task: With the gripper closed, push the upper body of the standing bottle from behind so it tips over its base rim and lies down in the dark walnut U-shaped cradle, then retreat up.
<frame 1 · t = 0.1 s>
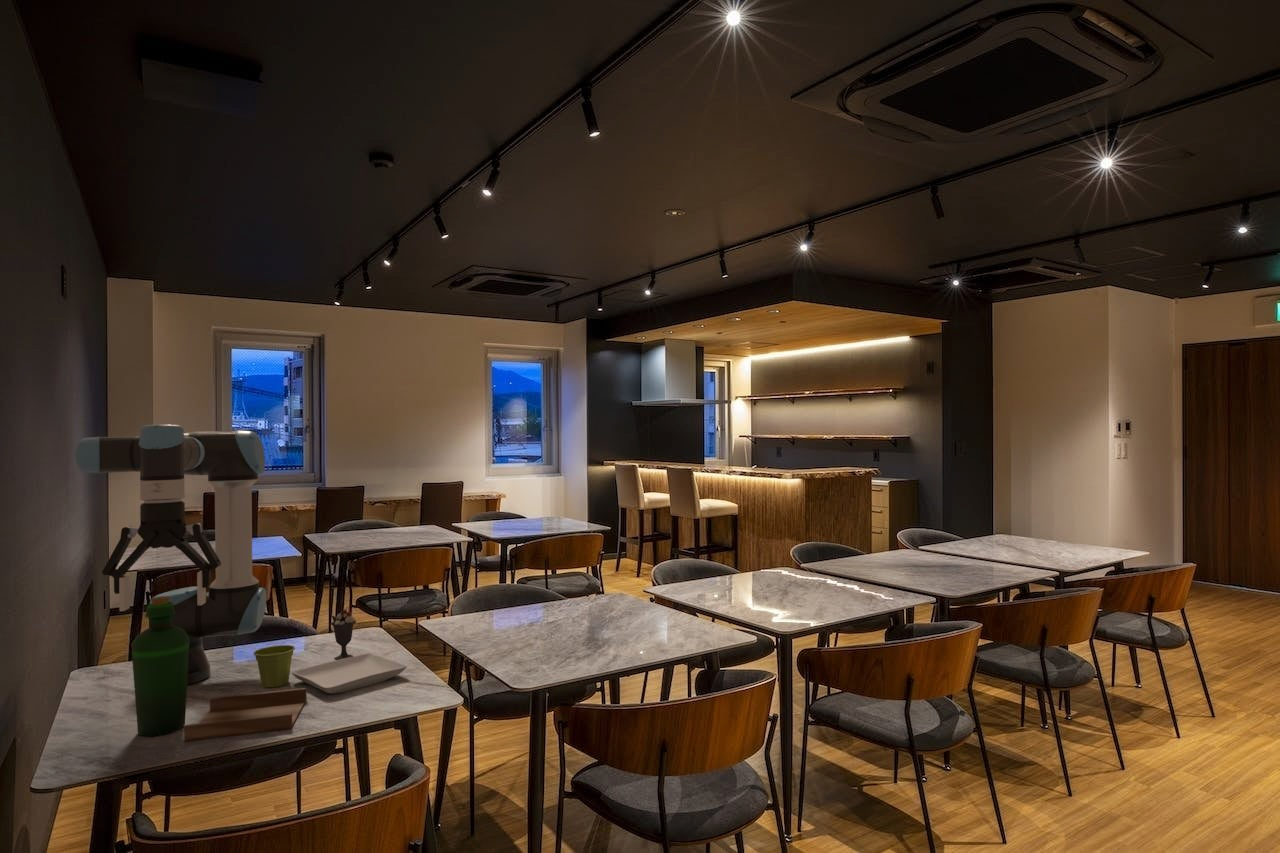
hand: (163, 607, 146), 28 cm above the table, fingers open, 13 cm apart
cradle: (249, 719, 159), on the table
plant pot: (275, 685, 183), on the table
bottle: (161, 730, 154), on the table
sundae: (344, 658, 205), on the table
salad plate: (349, 682, 185), on the table
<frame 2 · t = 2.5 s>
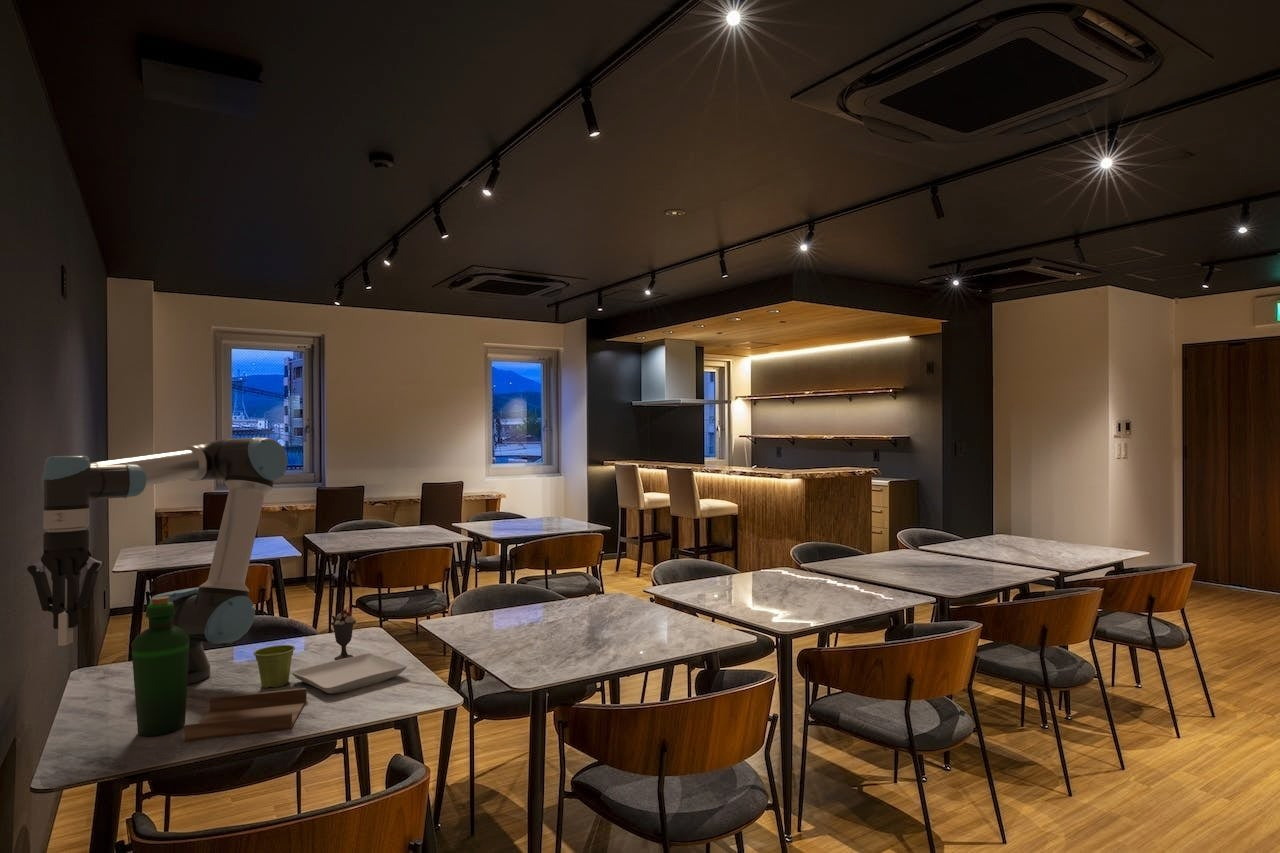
hand: (65, 643, 150), 20 cm above the table, fingers closed
nothing on the table moved.
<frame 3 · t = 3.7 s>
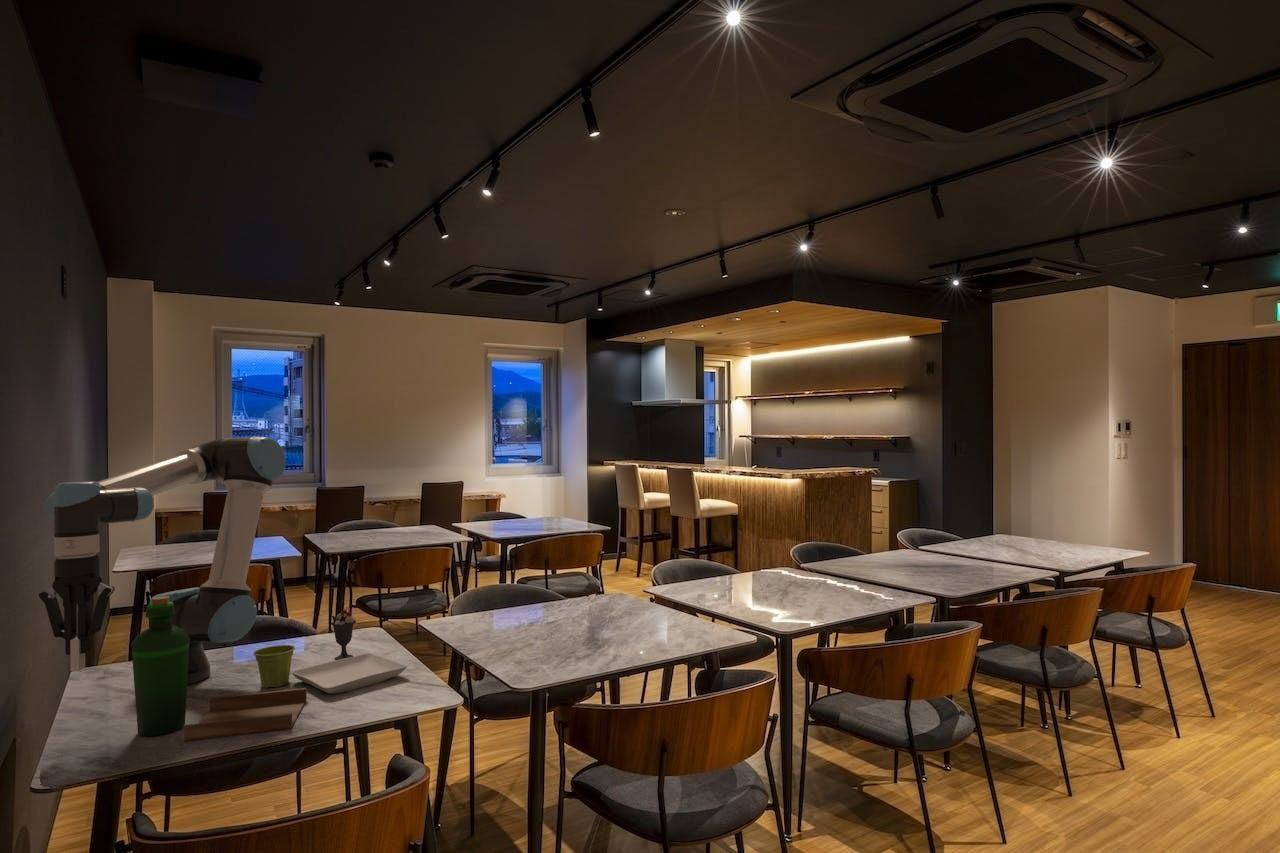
hand: (77, 669, 151), 14 cm above the table, fingers closed
nothing on the table moved.
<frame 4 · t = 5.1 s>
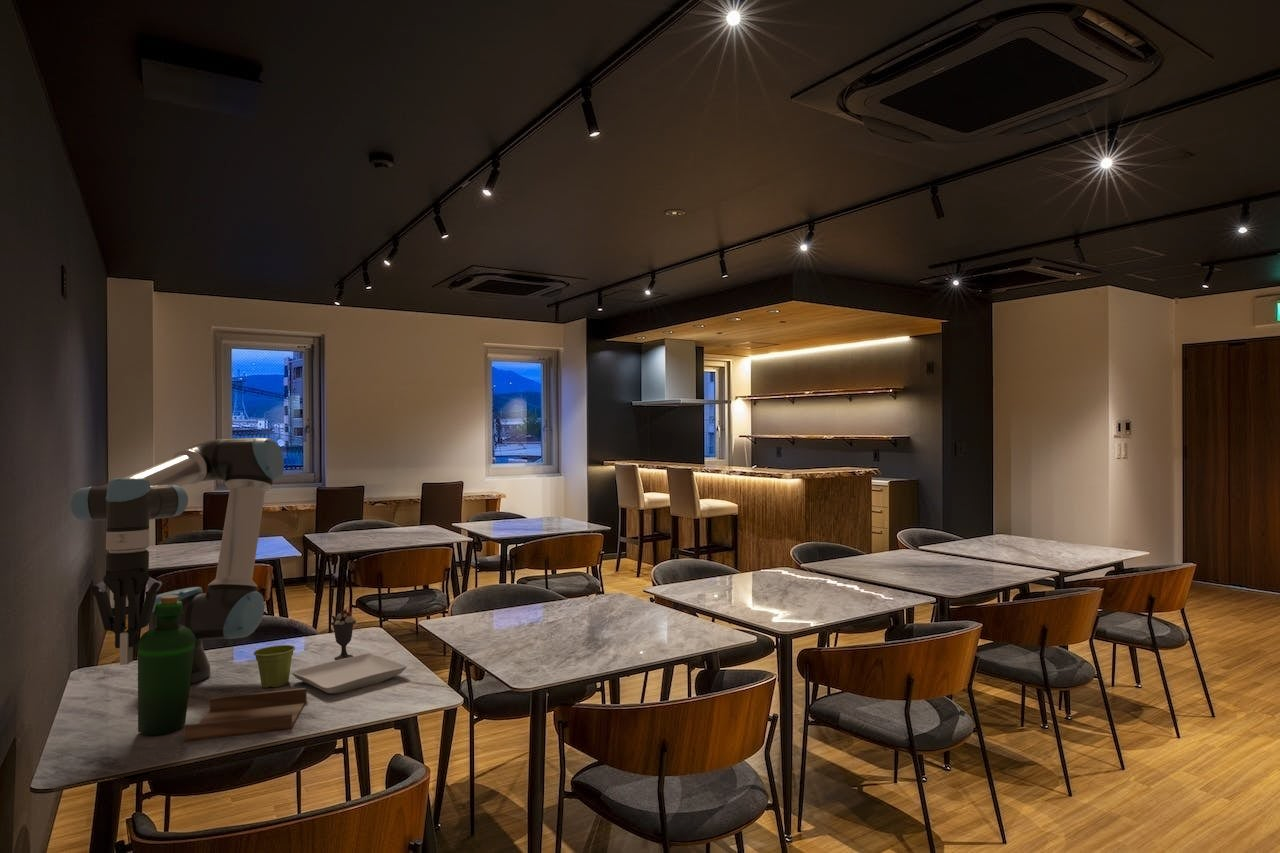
hand: (126, 662, 153), 15 cm above the table, fingers closed
bottle: (161, 729, 154), on the table, touching gripper
everything else where it was.
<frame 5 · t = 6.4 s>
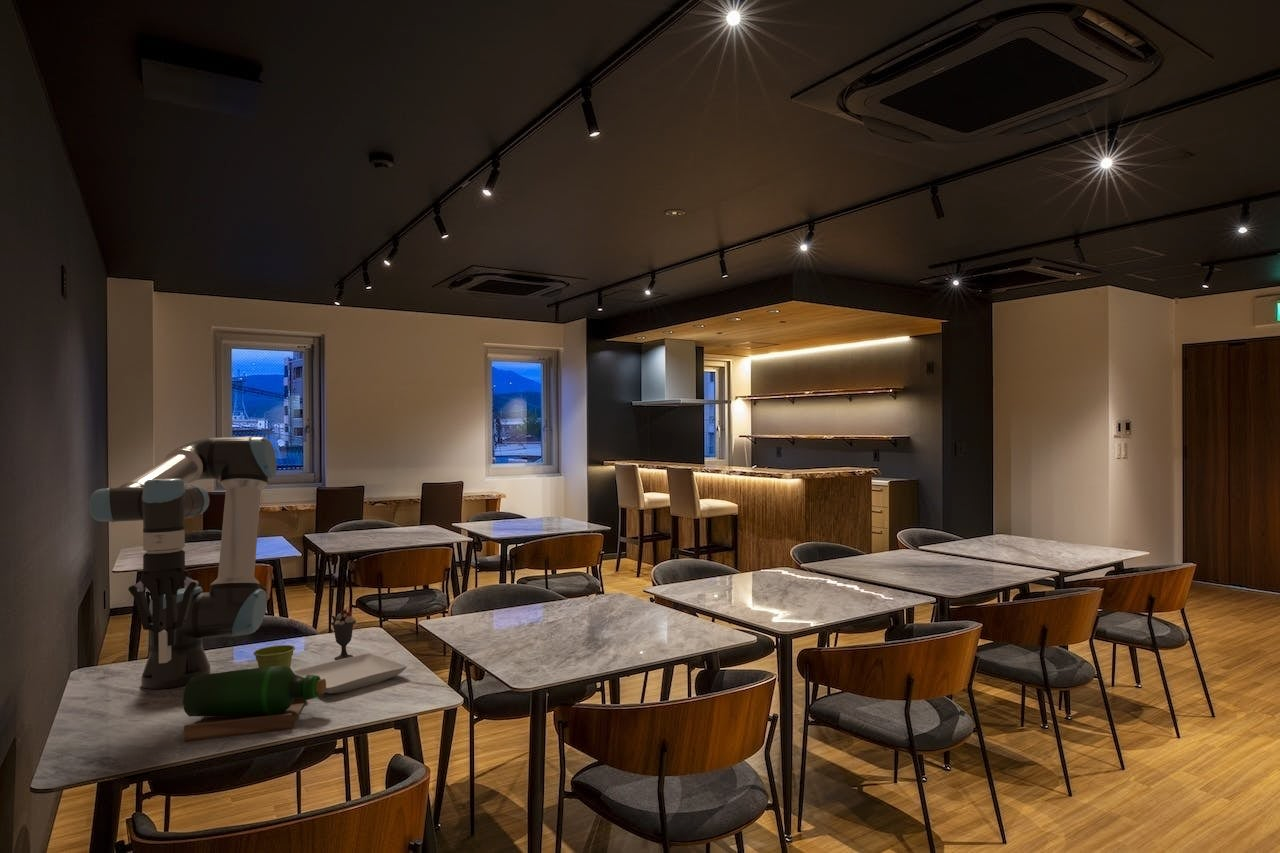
hand: (165, 661, 155), 14 cm above the table, fingers closed
bottle: (190, 695, 159), point 6 cm above the table, touching cradle
everything else where it was.
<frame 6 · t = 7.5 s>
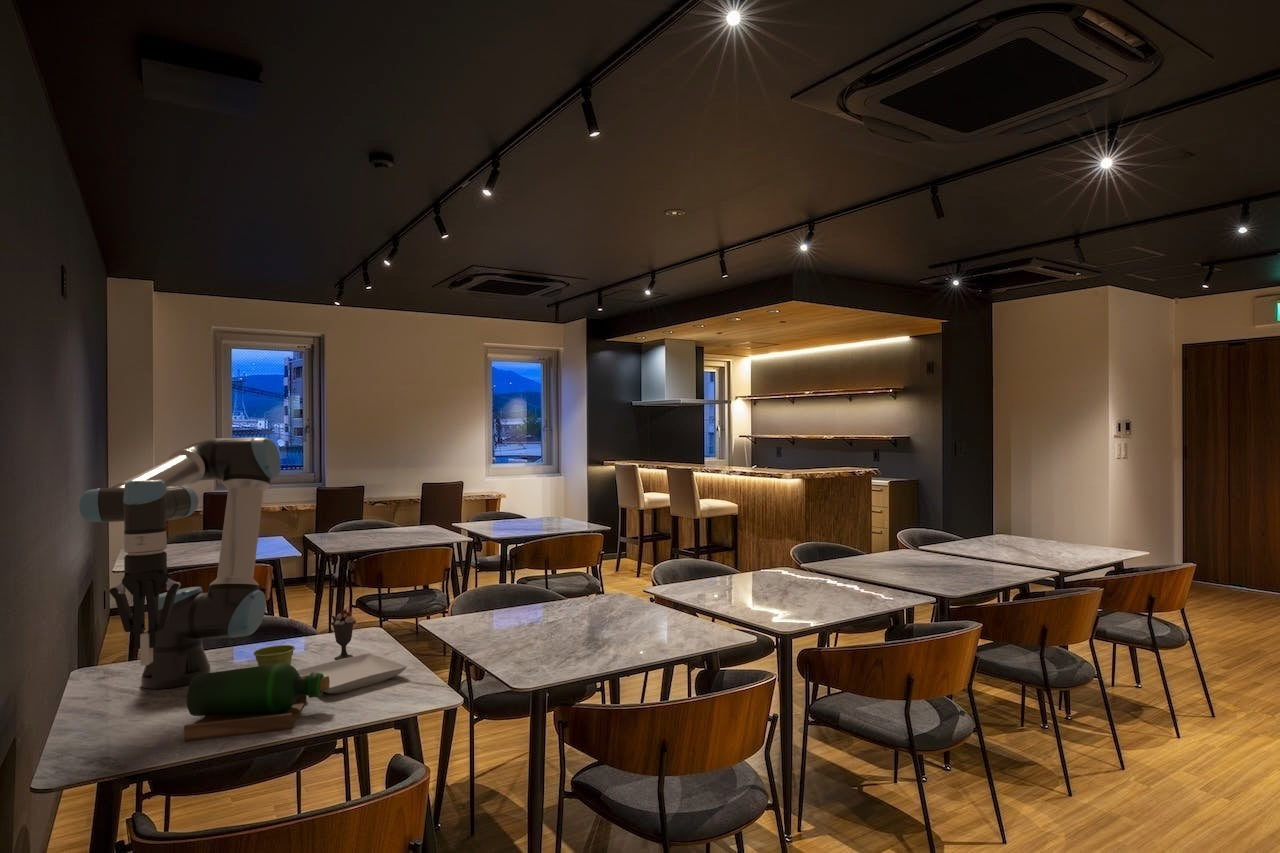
hand: (146, 663, 154), 14 cm above the table, fingers closed
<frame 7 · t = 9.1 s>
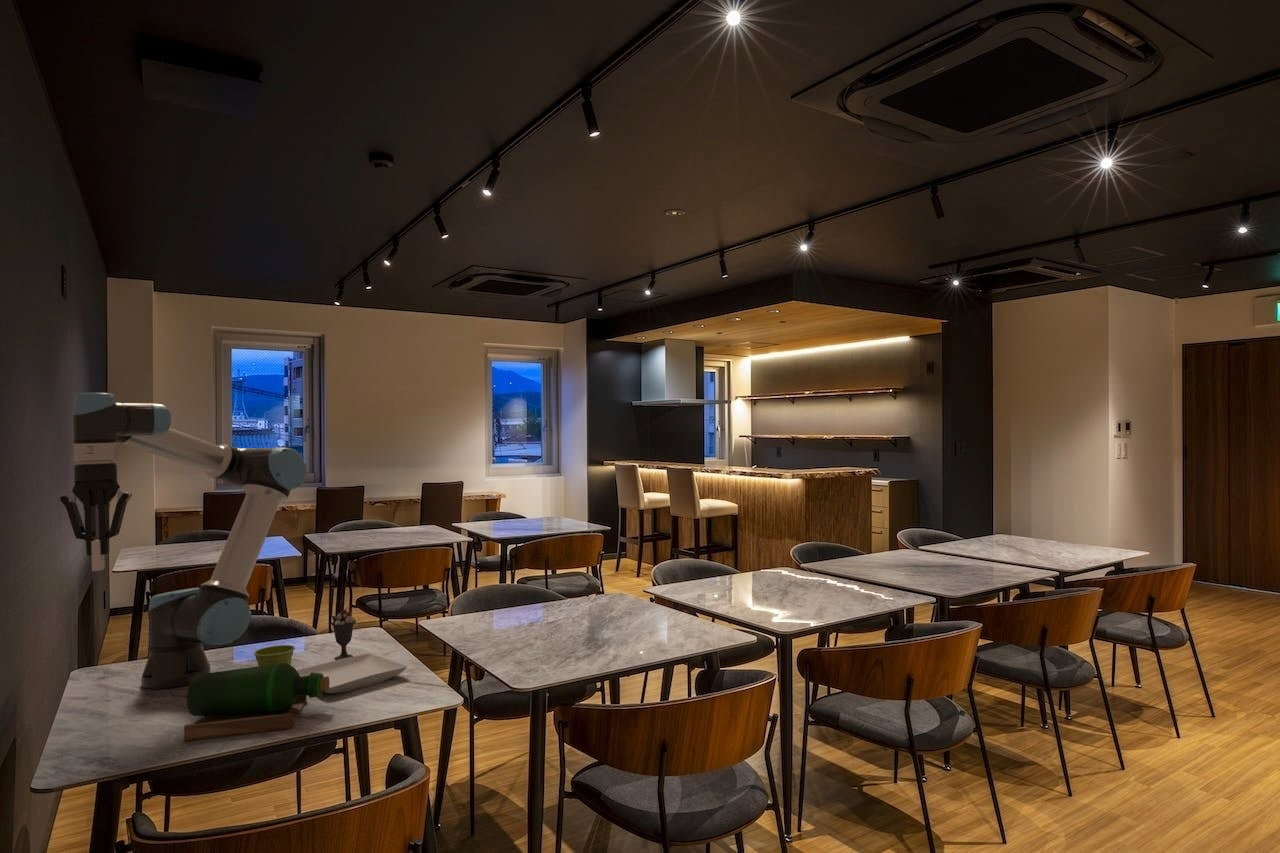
hand: (98, 569, 160), 34 cm above the table, fingers closed
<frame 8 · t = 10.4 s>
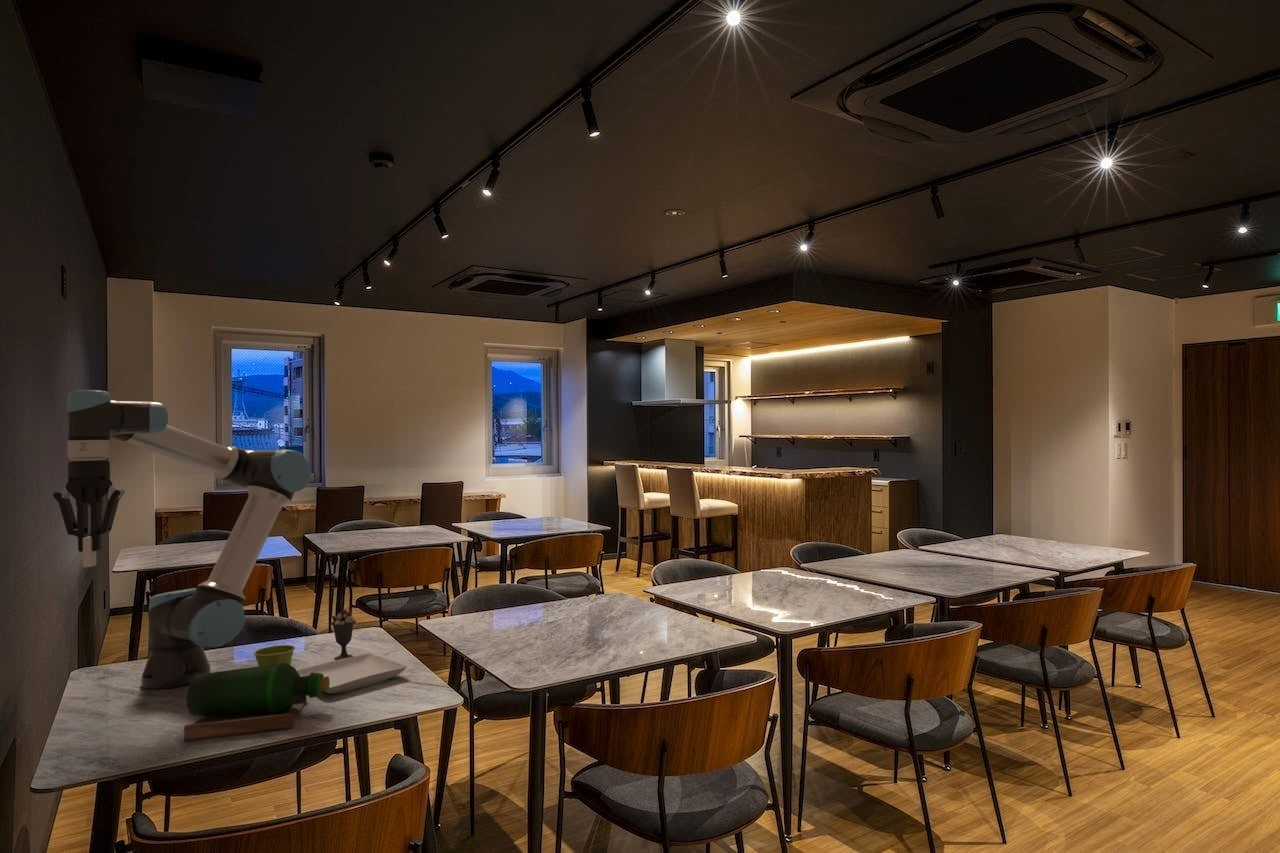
hand: (89, 566, 160), 34 cm above the table, fingers closed
at the end: bottle tilted 89°; bottle touching cradle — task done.
